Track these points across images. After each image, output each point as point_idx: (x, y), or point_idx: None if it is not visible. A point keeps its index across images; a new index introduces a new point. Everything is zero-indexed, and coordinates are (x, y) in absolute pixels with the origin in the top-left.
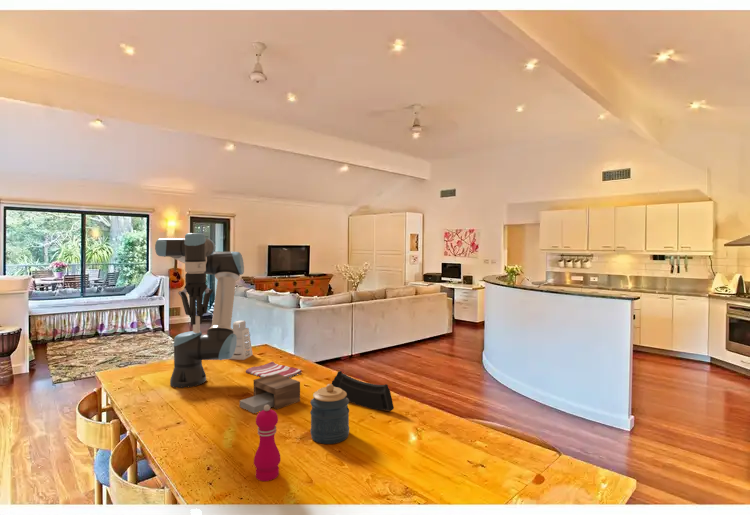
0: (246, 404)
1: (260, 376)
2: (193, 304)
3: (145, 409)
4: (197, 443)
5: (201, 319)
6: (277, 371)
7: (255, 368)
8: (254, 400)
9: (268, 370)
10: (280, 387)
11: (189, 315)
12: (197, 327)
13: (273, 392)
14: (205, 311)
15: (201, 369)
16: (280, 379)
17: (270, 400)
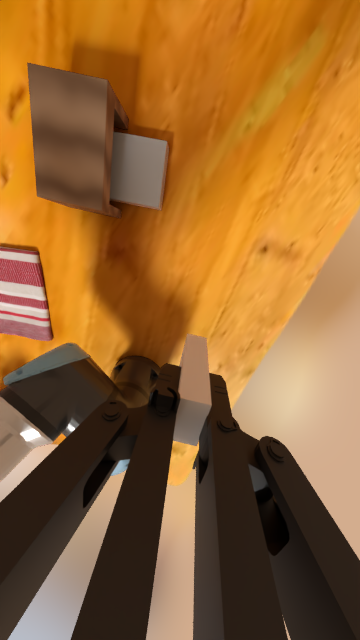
0: (162, 178)
1: (46, 299)
2: (273, 630)
3: (244, 343)
4: (325, 127)
5: (160, 379)
6: (8, 291)
7: (32, 332)
8: (141, 176)
9: (18, 310)
10: (92, 79)
11: (273, 438)
12: (200, 350)
13: (112, 108)
14: (108, 414)
15: (118, 375)
16: (55, 143)
17: (121, 139)
